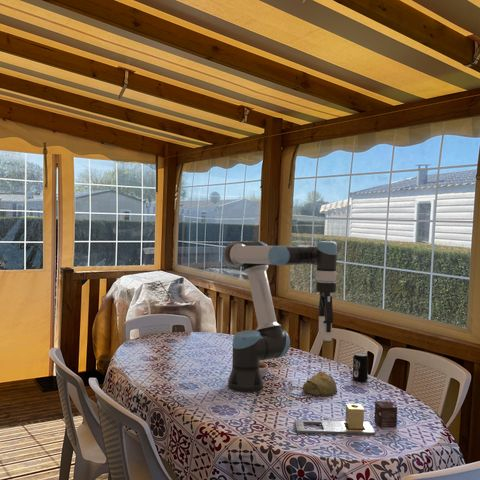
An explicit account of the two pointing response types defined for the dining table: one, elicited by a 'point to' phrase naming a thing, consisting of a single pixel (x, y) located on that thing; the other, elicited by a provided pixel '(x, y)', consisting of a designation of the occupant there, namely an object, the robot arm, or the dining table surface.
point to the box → (385, 414)
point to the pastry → (320, 385)
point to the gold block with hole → (354, 417)
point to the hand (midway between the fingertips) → (324, 336)
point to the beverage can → (360, 367)
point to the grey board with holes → (333, 428)
